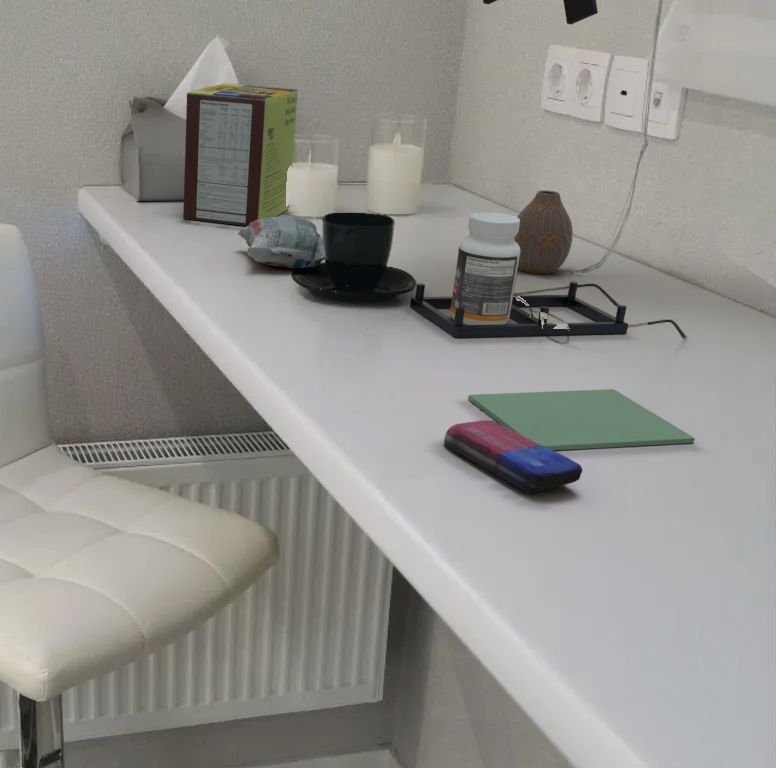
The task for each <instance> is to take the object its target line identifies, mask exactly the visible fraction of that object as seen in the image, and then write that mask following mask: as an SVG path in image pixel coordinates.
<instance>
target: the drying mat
mask: <svg viewBox="0 0 776 768" xmlns="http://www.w3.org/2000/svg"><path fill="white" fill-rule="evenodd" d="M467 396H468V397H467V400H468V401H470V402H471V403H472V404H473V405H475V406H476V407H478V409H480V410H481V411H482V412H483V413H485V414H486V415H487V416H488V417H490V418H492V419H493V421H495V422H497V423H499V424H501V425H503V426H505V427H507V428H509V429H511V430H513V431H515V432H516V433H518V434H520V435H522V436H524V437H526V438H528V439H530V440H532V441H534V442H536V443H538V444H540V445H542V446H544V447H547V448H549V449H551V450H553V451H570V450H588V449H606V448H623V447H625V448H626V447H642V446H643V447H645V446H657V445H658V446H661V445H663V446H664V445H678V444H680V445H682V444H694V443H695V439H696V438H695V437H694V436H692V435H691V434H689V433H687V432H685V431H684V430H682V429H680V428H679V427H677V426H675V425H674V424H672V423H670V422H669V421H667V420H665V419H664V418H662V417H660V415H658V414H656V413H654V412H652V411H651V410H649V409H647V408H646V407H644V406H642V405H641V404H639V403H638V402H636V401H634V400H633V399H631V398H629V397H627V396H626V395H624V394H622V393H621V392H619V391H618V390H616V389H614V388H608V389H607V388H605V389H585V390H583V389H582V390H581V389H579V390H557V391H555V390H554V391H533V392H532V391H530V392H528V391H527V392H512V393H511V392H508V393H507V392H506V393H482V394H481V393H479V394H468V395H467Z"/></svg>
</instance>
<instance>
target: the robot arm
mask: <svg viewBox="0 0 776 768" xmlns="http://www.w3.org/2000/svg"><path fill="white" fill-rule="evenodd" d="M482 1H483V3H482V4H485V5H490V4H493V3H494V2H497V1H498V0H482ZM563 7H564V13H565V20H566V24H567V25H574V24H576V23H578V22H580V21H583V20H585V19H588V18H590V17H592V16H595V15H597V14H598V13H599V11H598V4H597V0H563Z"/></svg>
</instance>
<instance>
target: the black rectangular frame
mask: <svg viewBox="0 0 776 768" xmlns="http://www.w3.org/2000/svg"><path fill="white" fill-rule="evenodd" d="M578 285H579V283H578V282H577V281H570V282H569V285H568V291H567V294H537V295H536V294H530V295H527V294H525V295H519V296H520V297H521V298H523V299H524V300H526V302H527V303H528V304H529V305H530V306H531V307H530V308H533V307H534V308H539V312H540V311H541V312H545V313H548V314H549V311H550V307H567V308H569V309H571V310H573V311H575V312H577V313H579V314H581V315H583V316H585V317H586V318H589V319H591V320H592V321H589V322H566V323H567V324H568V326H569V328H570V329H568V330H569V331H568V330H567V329H553V328H554V327H555V326H557V325H556V324H553V323H554V322H550V323H549V322H548V318H547V319H544V323H545V324H544V325H543V329H542V325H541V320H540V315H539V314H538V317H536V316H534V315H532V318H530V313H529V312H527V311H525V310H523V309H521V308H528V307H527V306H526V305H525V304H524V303H522V302H521V301H517V300H516V298H515V297H513V301H512V307H511V312H510V317H509V319H512V320H514V321H516V322H517V323H506V324H497V325H465V324H463V318H464V311H465V309H463V308H456V312H455V319H453V318H452V317H449V316H448V315H446V314H445V313H443V312H441V311H440V310H439V309H451V303H452V296H425V289H426V284H425V283H416V288H415V295H414V296H411V297H410V303H409V308H411V309H412V310H414V311H416V312H417V313H418V314H420V315H422V317H424V318H426V319H427V320H429V321H430V322H432V323H433V324H435V325H436V326H438V327H439V328H441V329H442V330H444V331H445V332H446V333H448V334H450V335H451V336H452V337H454V338H455V339H466V338H467V339H468V338H469V339H470V338H471V339H472V338H505V337H506V338H508V337H546V336H547V337H548V336H550V337H551V336H585V335H587V336H588V335H589V336H590V335H618V334H619V335H625V334H627V333H628V328H629V323H627V322H626V321H625V317H626V312H627V306H626V305H624V304H619V305H617V310H616V312H615V313H616V314H615V316H614V315H613V314H610V313H609V312H606V311H604V310H602V309H600V308H598V307H596V306H594V305H593V304H590V303H589V302H586V301H585V300H582V299H581V298H579V297H577V291H578V287H579V286H578ZM593 321H594V322H593ZM547 322H548V323H547Z"/></svg>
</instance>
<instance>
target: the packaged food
mask: <svg viewBox="0 0 776 768" xmlns="http://www.w3.org/2000/svg"><path fill="white" fill-rule="evenodd" d="M237 235H238V236H240V238H242V239H244V240H245V242H246V243H245V244H246V245H247V246H248V248H247V255H248V256H249V257H250V258H252V259H253V260H254V261H255V262H258V263H260V264H263V265H268V266H274V267H281V268H288V269H294V270H295V269H296V270H299V269H298V268H301V269H302V267H300V266H304V265H312V264H319V265H320V264H321V263H322V261H325V260H326V258H325V254H324V246H325V243H324V244H323V242H324V239H323V237H322V235H320V233H319V232H318V230H317V226H316V224H314V222H312V221H311V220H308V219H306V218H302V217H298V216H292V215H289V216H288V215H284V216H282V215H281V216H279V215H277V216H276V217H269V218H263V219H259V220H255V221H254V222H251V223H250V225H249V226H244V227H243V228H242V229H239V232H238V233H237ZM301 269H300V270H301Z"/></svg>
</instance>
